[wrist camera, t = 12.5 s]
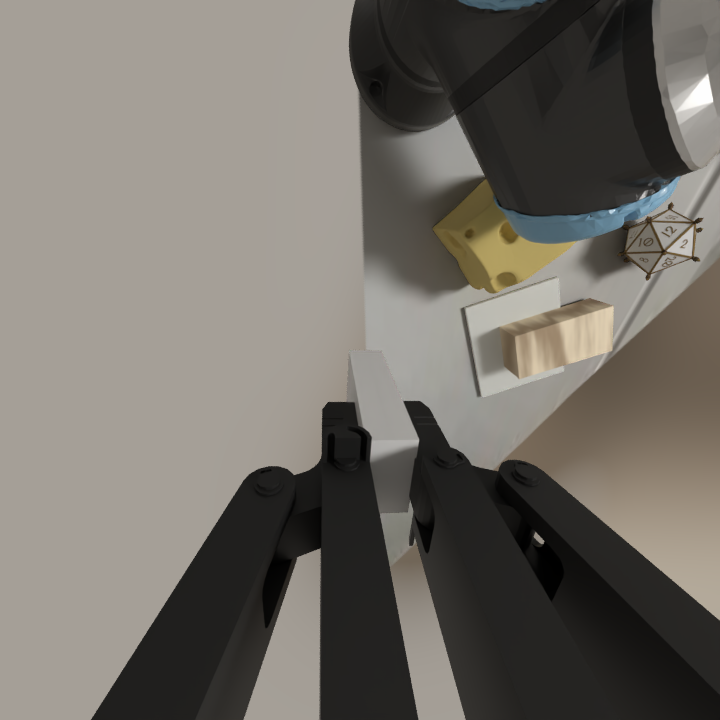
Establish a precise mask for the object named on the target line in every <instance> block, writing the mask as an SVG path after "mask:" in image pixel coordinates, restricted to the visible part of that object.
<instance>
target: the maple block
mask: <svg viewBox="0 0 720 720" xmlns="http://www.w3.org/2000/svg"><path fill="white" fill-rule="evenodd" d="M613 309H614V306H613V305H610V304H606V303H603V302H600V301H597V300H594V299H591V298H589V299H586V300H582V301H579V302H576V303H573V304H570V305H567V306H563V307H560V308H557V309H554V310H551V311H547V312H544V313H541V314H538V315H535V316H532V317H528V318H525V319H522V320H519V321H516V322H512V323H509V324H506V325H503V326H500V327H499V328H500V337H501V345H502V353H503V361H504V367H505V368H507V369H508V370H509V371H510V372H511V373H513V374H514V375H515V376H516V377H517V378H518V379H522V378H525V377H528V376H532V375H535V374H538V373H541V372H544V371H548V370H551V369H554V368H557V367H561V366H564V365H567V364H570V363H574V362H577V361H580V360H583V359H587V358H590V357H593V356H596V355H599V354H603V353H606V352H609V351H612V342H613Z"/></svg>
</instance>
